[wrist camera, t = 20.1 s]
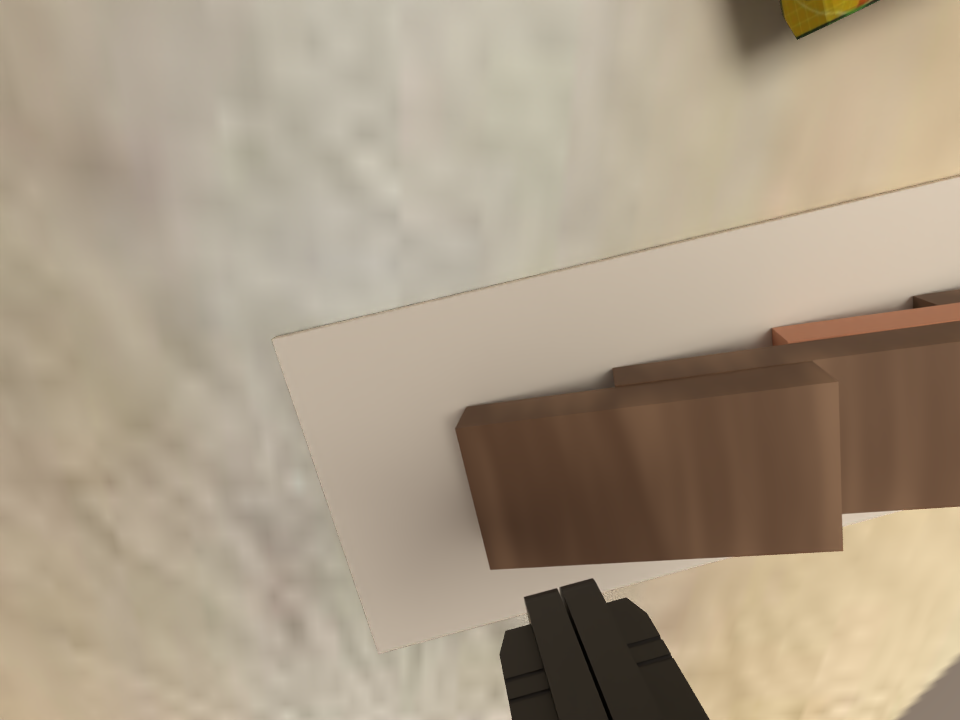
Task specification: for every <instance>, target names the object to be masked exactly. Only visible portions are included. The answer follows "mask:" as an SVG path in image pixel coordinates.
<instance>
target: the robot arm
mask: <svg viewBox="0 0 960 720" xmlns="http://www.w3.org/2000/svg"><path fill="white" fill-rule="evenodd" d="M559 591H560V593H559ZM559 591H558V589H557V588H555V589H551V590H547V591H544V592H540V593H536V594H533V595H529V596H525V597H524V602H525V606H526V611H527V615H528V619H529V623H530V624H529V625H526V626H522V627H518V628H515V629H511V630H507V631H506V632H505V635H504V639H503V643H502V647H501V651H500V659H501V664H502V670H503V675H504V680H505V685H506V690H507V695H508V700H509V706H510V711H511V716H512V720H710V719H709V718H708V716H707V714H706V713H705V711H704V709H703V707H702V706H701V704H700V702H699V701H698V699H697V697H696V696H695V694H694V692H693V691H692V689H691V687H690V685H689V684H688V682H687V680H686V679H685V677H684V675H683V674H682V672H681V670H680V668H679V667H678V665H677V663H676V662H675V660H674V658H672V656H671V653H670V652H669V650H668V648H667V646H666V645H665V643H664V641H663V640H661V638H660V635H659V633H658V631H657V629H656V628H655V626H654V624H653V623H652V621H651V619H650V618H649V616H648V614H647V613H646V612H645V611H643V610H642V609H641V608H639V607H638V606H637V605H635V604H634V603H633V602H631V601H630V600H629V599H627V598H623V599H619V600H616V601H612V602H608V603H606V601H605V599H604V597H603V595H602V593H601V591H600V589H599V587H598V585H597V583H596V582H595V580H594V579H593V578H591V579H587V580H583V581H580V582H576V583H572V584H569V585H565V586H561V587H559Z"/></svg>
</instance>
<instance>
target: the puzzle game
mask: <svg viewBox="0 0 960 720" xmlns="http://www.w3.org/2000/svg"><path fill="white" fill-rule="evenodd" d="M877 1H879V0H780V5H781V10H782V15H783V17H784V19H785V20H786V22H787V24H788V25H789V27H790V29H791V30H792V32H793V34H794V35H795V37H796V38H797V40H798V39H800V38H802V37H804V36H806V35H808V34H810V33H813V32H815V31H817V30H819V29H821V28H823V27H825V26H827V25H830V24H832V23H834V22H836V21H838V20H840V19H842V18H844V17H846V16H848V15H850V14H852V13H854V12H856V11H858V10H860V9H863V8H865V7H867V6H869V5H871V4H873V3H875V2H877Z"/></svg>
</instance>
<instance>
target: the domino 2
mask: <svg viewBox="0 0 960 720" xmlns="http://www.w3.org/2000/svg"><path fill="white" fill-rule="evenodd" d="M953 321H960V302H959V303H952V304H945V305H937V306H930V307H922V308H915V309H908V310H900V311H893V312H885V313H878V314H871V315H863V316H856V317H848V318H841V319H834V320H826V321H819V322H812V323H804V324H797V325H789V326H782V327H775V328H772V345H773V346H778V345H785V344H792V343H800V342H807V341H814V340H822V339H829V338H836V337H844V336H851V335H858V334H866V333H873V332H880V331H888V330H895V329H902V328H909V327H917V326H924V325H931V324H939V323H946V322H953Z"/></svg>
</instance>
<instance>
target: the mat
mask: <svg viewBox="0 0 960 720" xmlns="http://www.w3.org/2000/svg"><path fill="white" fill-rule="evenodd" d="M957 289H960V175H958V176H953V177H949V178H945V179H941V180H936V181H932V182H928V183H924V184H920V185H915V186H911V187H907V188H903V189H898V190H894V191H890V192H886V193H881V194H877V195H873V196H869V197H865V198H860V199H856V200H852V201H848V202H843V203H839V204H835V205H831V206H827V207H822V208H818V209H814V210H810V211H805V212H801V213H797V214H793V215H788V216H784V217H780V218H776V219H772V220H767V221H763V222H759V223H755V224H750V225H746V226H742V227H738V228H733V229H729V230H725V231H721V232H717V233H712V234H708V235H704V236H700V237H695V238H691V239H687V240H683V241H679V242H674V243H670V244H666V245H662V246H657V247H653V248H649V249H645V250H640V251H636V252H632V253H628V254H624V255H619V256H615V257H611V258H607V259H602V260H598V261H594V262H590V263H586V264H581V265H577V266H573V267H569V268H564V269H560V270H556V271H552V272H547V273H543V274H539V275H535V276H531V277H526V278H522V279H518V280H514V281H509V282H505V283H501V284H497V285H493V286H488V287H484V288H480V289H476V290H471V291H467V292H463V293H459V294H454V295H450V296H446V297H442V298H438V299H433V300H429V301H425V302H421V303H416V304H412V305H408V306H404V307H400V308H395V309H391V310H387V311H383V312H378V313H374V314H370V315H366V316H361V317H357V318H353V319H349V320H345V321H340V322H336V323H332V324H328V325H323V326H319V327H315V328H311V329H307V330H302V331H298V332H294V333H290V334H285V335H281V336H277V337H274V338H273V339H272V343H273V346H274V349H275V352H276V354H277V357H278V360H279V363H280V366H281V369H282V372H283V375H284V378H285V381H286V384H287V387H288V390H289V393H290V396H291V399H292V401H293V404H294V407H295V410H296V413H297V416H298V419H299V422H300V425H301V428H302V431H303V434H304V437H305V440H306V443H307V446H308V448H309V451H310V454H311V457H312V460H313V463H314V466H315V469H316V472H317V475H318V478H319V481H320V484H321V487H322V490H323V492H324V495H325V498H326V501H327V504H328V507H329V510H330V513H331V516H332V519H333V522H334V525H335V528H336V531H337V534H338V537H339V539H340V542H341V545H342V548H343V551H344V554H345V557H346V560H347V563H348V566H349V569H350V572H351V575H352V578H353V581H354V583H355V586H356V589H357V592H358V595H359V598H360V601H361V604H362V607H363V610H364V613H365V616H366V619H367V622H368V625H369V628H370V630H371V633H372V636H373V639H374V642H375V645H376V648H377V651H378V654H381V653H385V652H388V651H392V650H396V649H399V648H403V647H406V646H410V645H414V644H417V643H421V642H425V641H428V640H432V639H436V638H439V637H443V636H447V635H450V634H454V633H458V632H461V631H465V630H468V629H472V628H476V627H479V626H483V625H487V624H490V623H494V622H498V621H501V620H505V619H509V618H512V617H516V616H519V615H523V614H527V611H526V606H525V602H524V597H525V596H529V595H533V594H536V593H540V592H544V591H547V590H551V589H555V588H557V589H558V591H559V587H561V586H565V585H569V584H572V583H576V582H580V581H583V580H587V579H591V578H593V579H594V580H595V582H596V583H597V585H598V587H599V589H600V591H601V593H603V592H607V591H611V590H614V589H618V588H622V587H625V586H629V585H632V584H636V583H640V582H643V581H647V580H651V579H654V578H658V577H662V576H665V575H669V574H673V573H676V572H680V571H683V570H687V569H691V568H694V567H698V566H702V565H705V564H709V563H713V562H716V561H720V560H724V559H727V558H731V557H721V558H703V559H684V560H665V561H647V562H628V563H610V564H591V565H572V566H554V567H535V568H516V569H498V570H490V567H489V563H488V559H487V555H486V551H485V547H484V543H483V539H482V535H481V531H480V527H479V523H478V519H477V515H476V511H475V507H474V503H473V499H472V495H471V491H470V487H469V483H468V479H467V475H466V471H465V467H464V463H463V459H462V455H461V451H460V447H459V443H458V439H457V435H456V431H455V427H456V425H457V424H458V422H459V420H460V418H461V416H462V414H463V412H464V410H465V408H466V407H468V406H476V405H484V404H491V403H499V402H506V401H514V400H521V399H529V398H537V397H544V396H552V395H559V394H567V393H574V392H582V391H590V390H597V389H605V388H612V387H615V384H614V377H613V371H612V368H616V367H624V366H631V365H638V364H646V363H653V362H660V361H668V360H675V359H682V358H690V357H697V356H704V355H712V354H719V353H726V352H734V351H741V350H748V349H756V348H763V347H770V346H773V345H772V328H775V327H782V326H789V325H797V324H804V323H812V322H819V321H826V320H834V319H841V318H848V317H856V316H863V315H871V314H878V313H885V312H893V311H900V310H908V309H913V296H916V295H923V294H930V293H937V292H943V291H950V290H957ZM899 511H902V510H898V511H882V512H867V513H851V514H842V527H844V526H847V525H851V524H855V523H858V522H862V521H866V520H869V519H873V518H877V517H880V516H884V515H888V514H891V513H895V512H899ZM559 593H560V591H559Z"/></svg>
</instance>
